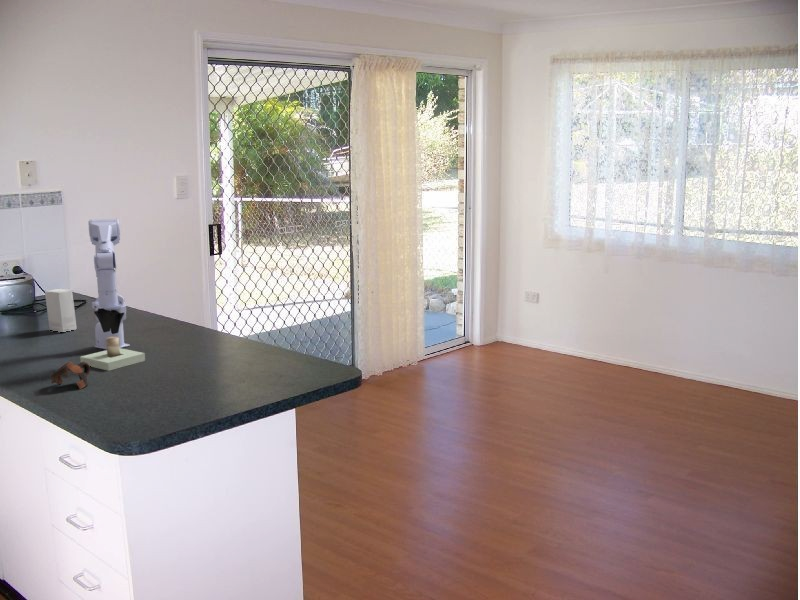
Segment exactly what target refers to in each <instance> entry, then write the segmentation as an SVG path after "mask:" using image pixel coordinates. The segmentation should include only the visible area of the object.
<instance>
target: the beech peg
mask: <svg viewBox="0 0 800 600" xmlns="http://www.w3.org/2000/svg"><path fill="white" fill-rule="evenodd" d="M106 344H107V356H108V357H110V358H112V357H116V356H119V355H120V349H119V337H108V338H106Z"/></svg>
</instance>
